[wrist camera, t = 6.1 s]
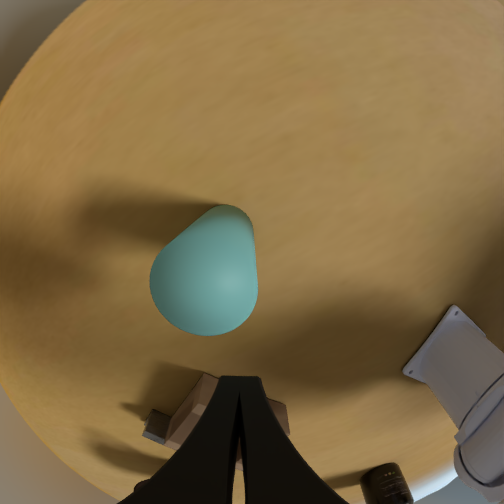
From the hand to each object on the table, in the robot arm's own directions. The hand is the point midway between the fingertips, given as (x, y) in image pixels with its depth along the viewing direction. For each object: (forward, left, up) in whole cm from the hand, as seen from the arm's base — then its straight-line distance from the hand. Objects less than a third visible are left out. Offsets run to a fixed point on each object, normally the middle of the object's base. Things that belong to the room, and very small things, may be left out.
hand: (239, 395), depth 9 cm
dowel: (+3, -3, -10) cm, 11 cm away
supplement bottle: (-35, +18, -10) cm, 41 cm away
